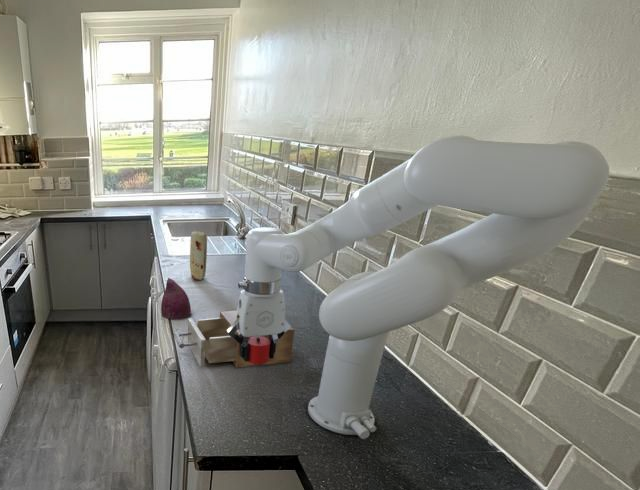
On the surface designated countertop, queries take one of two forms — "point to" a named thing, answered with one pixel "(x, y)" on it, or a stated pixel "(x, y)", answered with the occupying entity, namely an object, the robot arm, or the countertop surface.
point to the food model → (198, 255)
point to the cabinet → (282, 346)
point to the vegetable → (175, 302)
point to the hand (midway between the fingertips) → (257, 356)
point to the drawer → (209, 341)
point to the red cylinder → (259, 350)
